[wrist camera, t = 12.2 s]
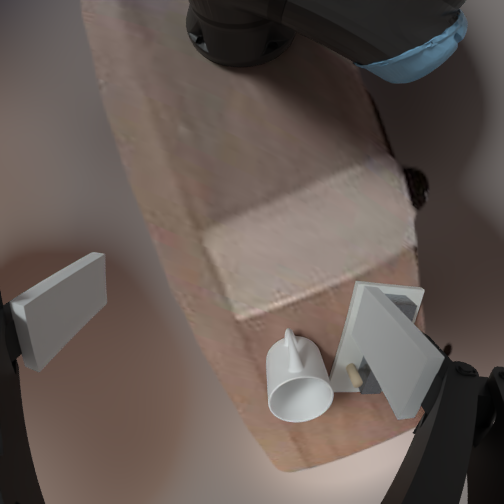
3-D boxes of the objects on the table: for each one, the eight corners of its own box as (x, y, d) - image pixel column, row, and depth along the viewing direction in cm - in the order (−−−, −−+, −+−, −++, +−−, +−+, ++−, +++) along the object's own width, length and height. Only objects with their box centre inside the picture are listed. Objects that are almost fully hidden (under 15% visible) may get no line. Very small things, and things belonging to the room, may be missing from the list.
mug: (314, 309, 43) (330, 348, 33) (321, 371, 46) (334, 415, 36) (257, 320, 44) (258, 361, 34) (270, 381, 47) (273, 426, 37)
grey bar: (378, 293, 42) (388, 303, 38) (405, 295, 42) (417, 305, 38) (350, 379, 46) (357, 394, 42) (376, 379, 46) (383, 393, 42)
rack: (355, 280, 42) (369, 295, 37) (421, 287, 43) (438, 301, 37) (325, 387, 47) (331, 409, 42) (385, 386, 48) (395, 406, 42)
